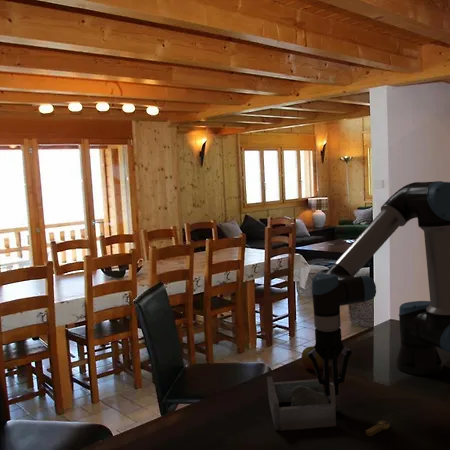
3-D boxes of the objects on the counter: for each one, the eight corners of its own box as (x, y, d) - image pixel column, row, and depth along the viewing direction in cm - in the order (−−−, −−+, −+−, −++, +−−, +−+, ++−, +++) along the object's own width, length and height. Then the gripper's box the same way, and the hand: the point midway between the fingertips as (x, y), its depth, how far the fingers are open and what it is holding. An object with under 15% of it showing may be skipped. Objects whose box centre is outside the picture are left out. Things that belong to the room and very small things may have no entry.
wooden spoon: (382, 423, 142) (382, 419, 142) (392, 427, 139) (391, 423, 139) (363, 433, 137) (363, 429, 137) (373, 438, 135) (372, 433, 135)
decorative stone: (304, 428, 142) (323, 398, 142) (277, 404, 149) (295, 375, 149) (324, 432, 151) (342, 403, 152) (297, 409, 159) (314, 382, 159)
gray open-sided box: (322, 397, 161) (321, 372, 160) (336, 426, 142) (334, 398, 141) (268, 401, 161) (267, 376, 160) (275, 431, 142) (273, 403, 141)
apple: (329, 362, 189) (328, 341, 189) (330, 373, 180) (328, 351, 179) (302, 363, 191) (301, 342, 190) (301, 373, 182) (300, 351, 181)
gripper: (346, 322, 153) (350, 398, 155) (303, 325, 153) (308, 401, 155) (353, 329, 146) (357, 409, 148) (307, 333, 145) (313, 413, 147)
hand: (332, 405), depth 151 cm, fingers closed
